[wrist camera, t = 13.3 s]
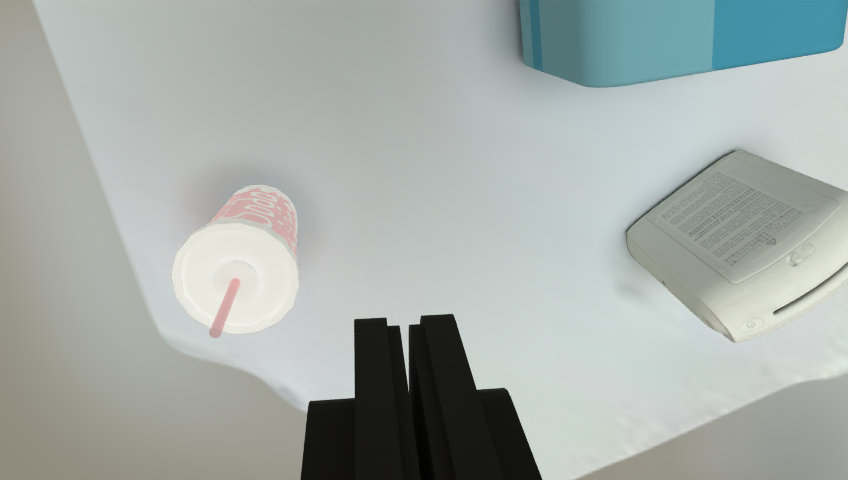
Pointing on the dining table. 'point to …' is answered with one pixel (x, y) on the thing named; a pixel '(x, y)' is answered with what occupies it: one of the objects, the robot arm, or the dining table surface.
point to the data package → (671, 36)
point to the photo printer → (747, 244)
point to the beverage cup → (241, 263)
